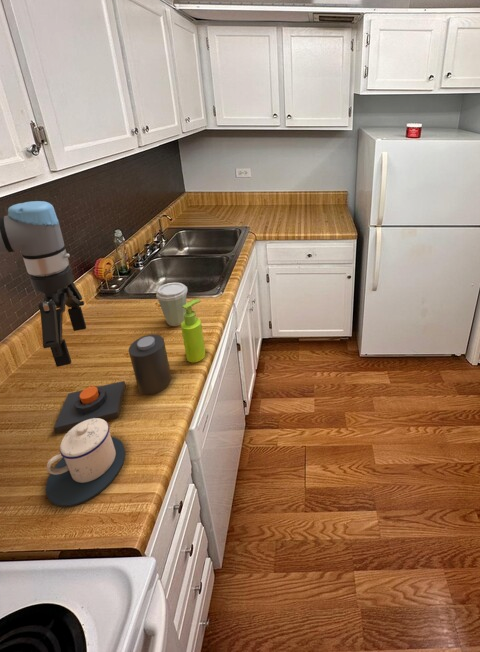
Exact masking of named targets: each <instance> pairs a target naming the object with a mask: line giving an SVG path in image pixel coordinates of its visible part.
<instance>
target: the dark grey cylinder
mask: <svg viewBox="0 0 480 652" xmlns="http://www.w3.org/2000/svg"><path fill="white" fill-rule="evenodd" d="M128 354H129V357H130V362H131V366H132V370H133V373H134V378H135V382H136V385H137V388H138V392H139V393H140V394H141V395H144V396H154V395H158V394H160V393H161V392H163V391H164V390H166V389H167V388H168V387H169V386H170V384H171V383H172V379H173V377H172V372H171V366H170V363H169V357H168V353H167V348H166V343H165V339H164V337H163V336H162V335H159V334H146V335H144V336H143V335H142V336H141V337H139V338H137V339H135V340H134V341H133V342H132V343H131V344H130V345H129V347H128Z"/></svg>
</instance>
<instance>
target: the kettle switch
mask: <svg viewBox="0 0 480 652" xmlns="http://www.w3.org/2000/svg"><path fill="white" fill-rule="evenodd" d="M96 387H97V386H89V387H86V388H85V389H83V391H82V390H81V391H82V392H81V393H80V399H81V402H82V404H90V403H92V402H94V401H95V400H96V399H97V398H98V397H99V393H98V389H97V388H96Z"/></svg>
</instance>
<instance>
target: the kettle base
mask: <svg viewBox="0 0 480 652" xmlns="http://www.w3.org/2000/svg"><path fill="white" fill-rule="evenodd" d="M95 387H96V388H97V389H98V393H99V397H98V398H97V399H96V400H95V401H94V402H92V403H90V404H82V402H81V399H80V393H81V392H82V391H83V390H84V389H83V390H78V391H73V392H69V393H67V395H66V398H65V401H64V403H63V405H62V408H61V410H60V412H59V414H58V417H57V419H56V421H55V424H54V426H53V430H54V433H55V434H59V433H64V432H69V431H70V430H71V429H72V428H73V427H74V426H76V425H77V424H79V423H81V422H83V421H85V420H88V419H92V418H100V419H103V420H105V421H106V422H108V421H110V420H114V419H119V417H120V413H121V408H122V405H123V400H124V397H125V391H126V387H127V385H126V381H125V380H122V381H117V382H112V383H109V384H104V385H99V386H95Z"/></svg>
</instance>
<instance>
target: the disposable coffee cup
mask: <svg viewBox="0 0 480 652" xmlns="http://www.w3.org/2000/svg"><path fill="white" fill-rule="evenodd" d="M187 293H188V286H186V285H185V284H184V283H182V282H168V283H165V284H161V285H160V286H158V288H157V289H156V295H155V296H156V297H155V298H156V299H157V300H158V303H159V306H160V309H161V311H162V314H163V316H164V319H165V322H166V323H167V325H169V326H170V327H178V326H181V323H182V322H183V321H184V313H185V312H186V309H184V308H183V307H182V306H183V305H185V304H186V303H187V296H188V295H187Z"/></svg>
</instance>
